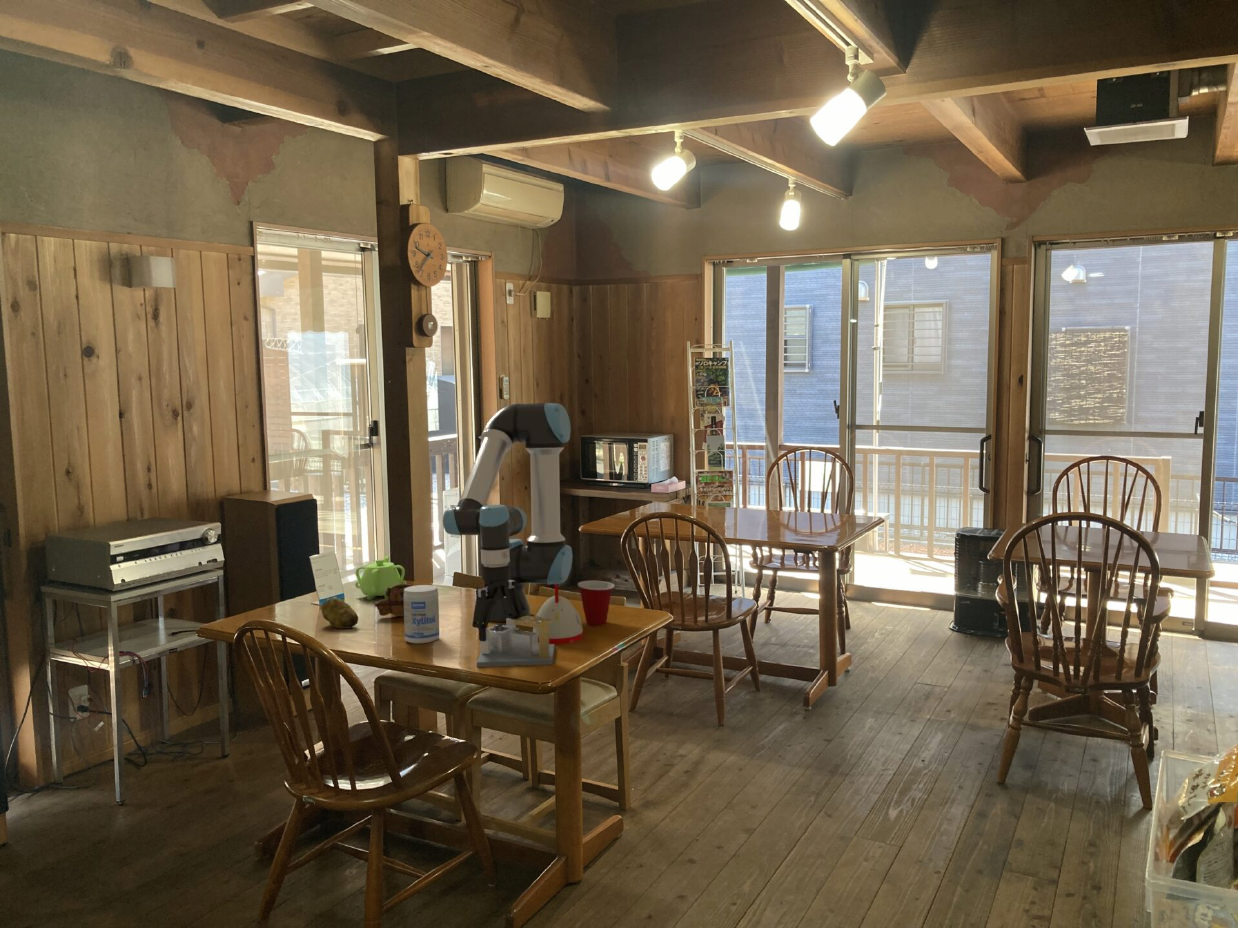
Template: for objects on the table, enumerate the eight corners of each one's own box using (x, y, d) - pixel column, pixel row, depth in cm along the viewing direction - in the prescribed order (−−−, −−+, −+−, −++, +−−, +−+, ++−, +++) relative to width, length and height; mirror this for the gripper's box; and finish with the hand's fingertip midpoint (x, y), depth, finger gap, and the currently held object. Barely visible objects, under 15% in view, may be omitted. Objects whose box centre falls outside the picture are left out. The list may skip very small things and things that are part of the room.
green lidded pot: (350, 595, 327) (348, 559, 326) (389, 589, 336) (387, 553, 335) (370, 603, 314) (368, 565, 313) (410, 596, 323) (408, 559, 322)
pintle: (495, 647, 254) (494, 624, 253) (503, 647, 254) (502, 623, 253) (494, 650, 252) (493, 626, 251) (502, 649, 252) (501, 625, 251)
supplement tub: (413, 646, 262) (411, 593, 260) (399, 639, 269) (396, 588, 268) (446, 639, 268) (443, 588, 266) (430, 633, 275) (428, 582, 274)
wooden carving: (377, 621, 290) (376, 588, 290) (374, 618, 295) (373, 586, 294) (431, 614, 298) (429, 582, 297) (427, 611, 302) (426, 580, 301)
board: (483, 650, 256) (483, 646, 256) (554, 648, 256) (554, 643, 256) (476, 666, 241) (476, 662, 241) (552, 664, 242) (552, 659, 242)
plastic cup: (616, 627, 276) (615, 586, 275) (579, 628, 276) (577, 587, 275) (614, 617, 287) (613, 578, 286) (578, 619, 287) (577, 579, 286)
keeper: (528, 650, 251) (527, 615, 250) (555, 655, 246) (554, 619, 245) (515, 655, 246) (514, 619, 246) (543, 660, 241) (542, 623, 241)
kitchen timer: (532, 645, 260) (530, 591, 259) (533, 632, 274) (531, 580, 272) (583, 643, 261) (582, 589, 260) (582, 630, 275) (580, 578, 273)
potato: (333, 632, 278) (331, 605, 277) (319, 624, 289) (317, 598, 288) (361, 628, 283) (359, 601, 282) (346, 619, 293) (344, 594, 293)
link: (481, 650, 252) (480, 630, 251) (499, 644, 257) (498, 624, 257) (525, 658, 243) (525, 637, 243) (543, 651, 249) (542, 631, 248)
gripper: (477, 573, 239) (481, 660, 241) (533, 558, 258) (536, 639, 260) (455, 570, 244) (458, 656, 245) (512, 556, 262) (515, 635, 264)
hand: (498, 647), depth 253 cm, fingers open, 10 cm apart
